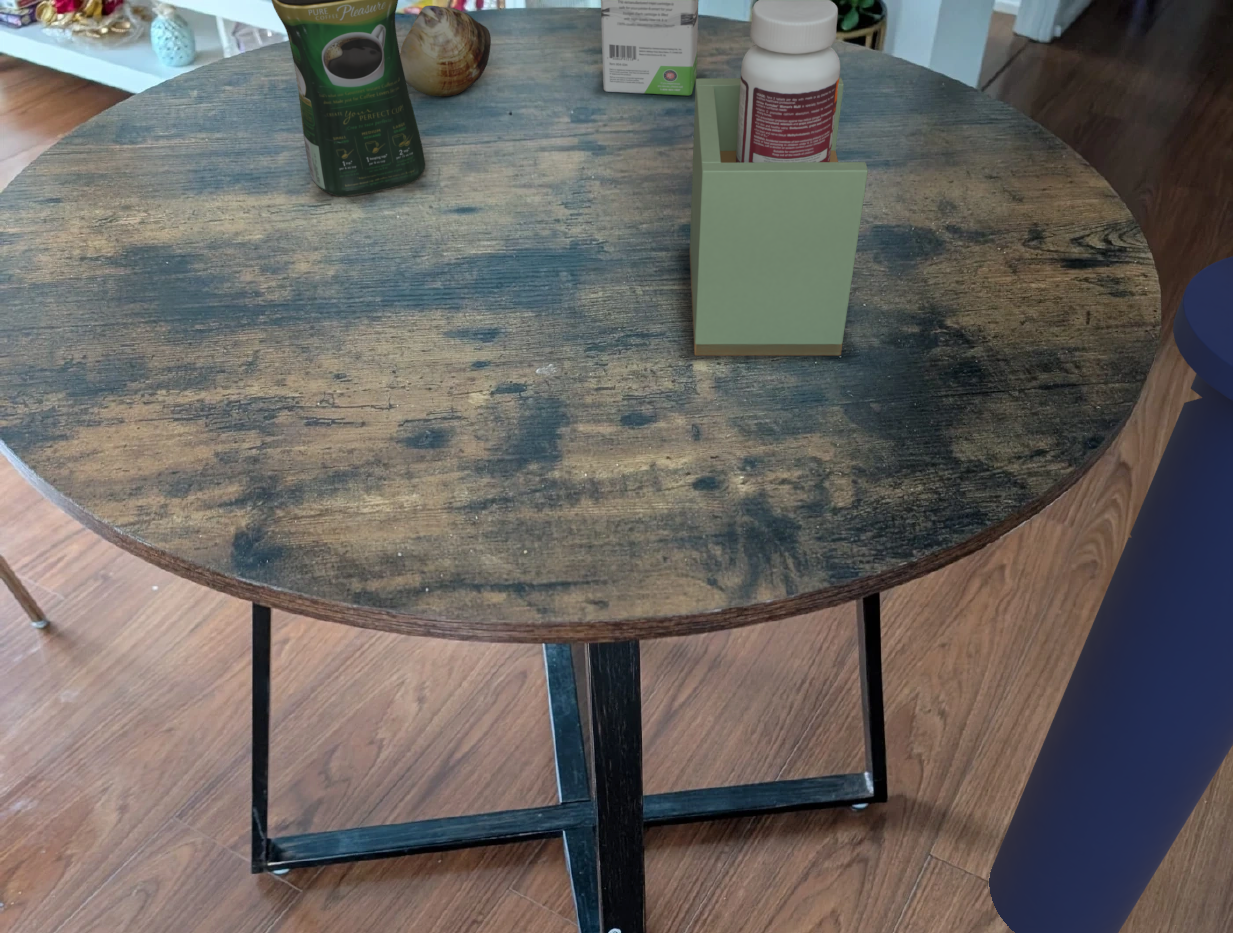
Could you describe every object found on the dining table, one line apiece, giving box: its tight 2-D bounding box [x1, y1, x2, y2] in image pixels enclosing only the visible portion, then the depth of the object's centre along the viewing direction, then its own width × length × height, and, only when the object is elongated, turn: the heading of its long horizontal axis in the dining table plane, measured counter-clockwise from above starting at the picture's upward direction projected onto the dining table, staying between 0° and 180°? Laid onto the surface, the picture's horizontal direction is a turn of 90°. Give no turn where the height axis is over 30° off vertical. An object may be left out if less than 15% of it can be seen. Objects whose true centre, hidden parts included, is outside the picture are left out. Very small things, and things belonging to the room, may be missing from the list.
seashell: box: [400, 5, 492, 97], centre depth 107 cm, size 10×6×8 cm, turn 127°
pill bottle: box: [736, 0, 841, 163], centre depth 74 cm, size 6×6×11 cm
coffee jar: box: [271, 0, 426, 197], centre depth 92 cm, size 10×8×19 cm
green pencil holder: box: [689, 77, 869, 356], centre depth 79 cm, size 10×14×13 cm
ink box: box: [600, 0, 699, 96], centre depth 107 cm, size 9×5×12 cm, turn 80°
